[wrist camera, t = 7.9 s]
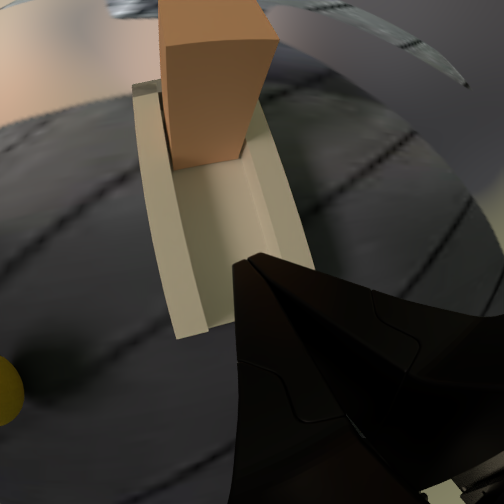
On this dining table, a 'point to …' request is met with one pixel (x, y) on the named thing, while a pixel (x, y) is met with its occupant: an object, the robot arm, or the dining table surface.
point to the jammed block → (211, 75)
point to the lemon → (9, 392)
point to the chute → (212, 215)
